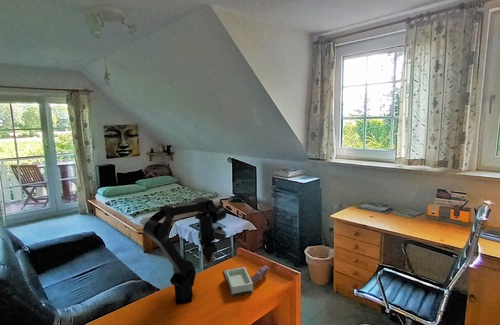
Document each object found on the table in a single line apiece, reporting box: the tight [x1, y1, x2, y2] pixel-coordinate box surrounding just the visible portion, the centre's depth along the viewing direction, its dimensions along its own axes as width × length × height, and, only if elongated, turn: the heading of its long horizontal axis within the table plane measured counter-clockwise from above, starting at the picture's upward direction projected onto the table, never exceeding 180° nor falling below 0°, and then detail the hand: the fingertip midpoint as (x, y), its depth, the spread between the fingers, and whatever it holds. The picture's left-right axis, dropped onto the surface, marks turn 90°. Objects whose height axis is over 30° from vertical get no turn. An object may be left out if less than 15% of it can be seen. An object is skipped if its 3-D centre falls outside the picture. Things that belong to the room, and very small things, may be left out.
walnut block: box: [201, 253, 215, 265], centre depth 130 cm, size 4×4×6 cm
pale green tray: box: [225, 266, 254, 295], centre depth 128 cm, size 9×14×4 cm, turn 15°
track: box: [223, 266, 254, 298], centre depth 132 cm, size 9×20×1 cm, turn 15°
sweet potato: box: [250, 265, 270, 283], centre depth 133 cm, size 10×5×7 cm, turn 145°
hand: (208, 259), depth 131 cm, fingers closed on walnut block, 4 cm apart
